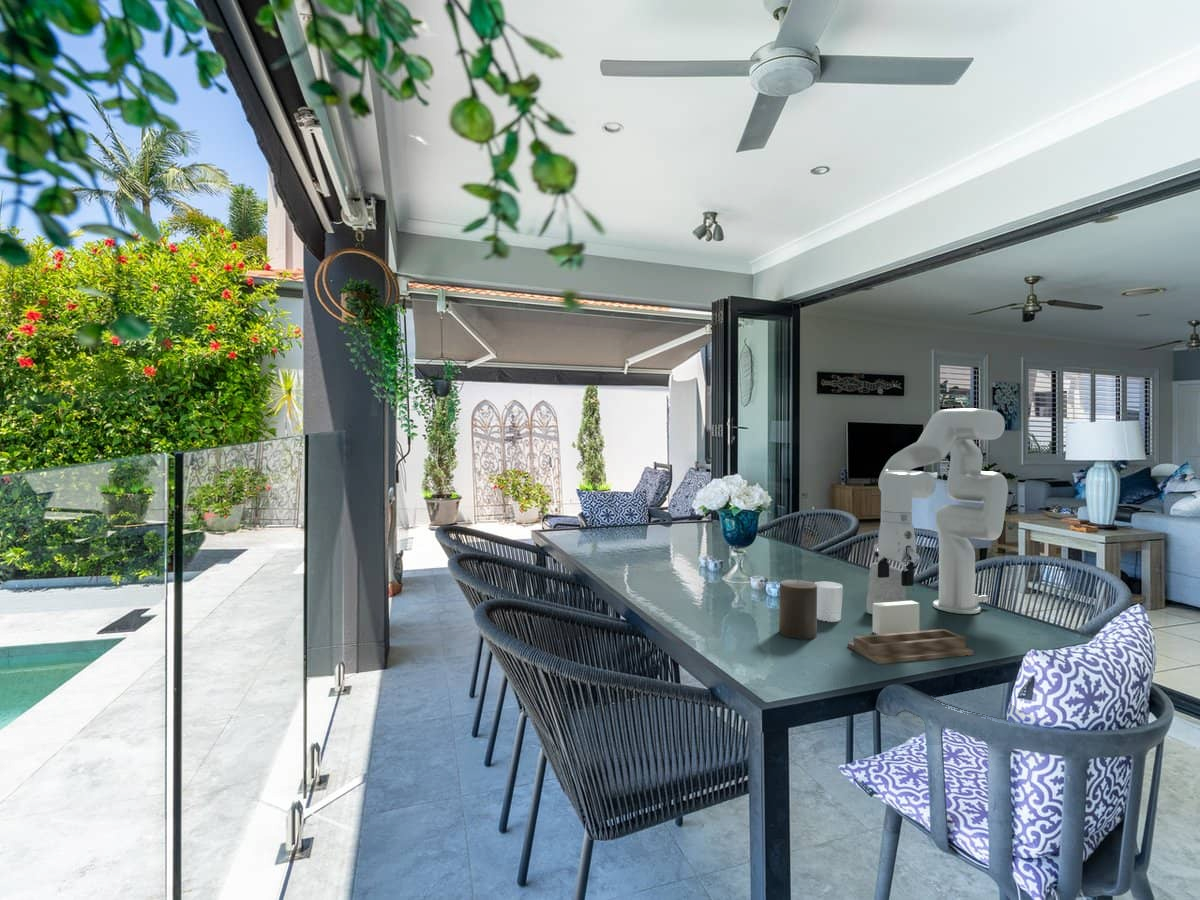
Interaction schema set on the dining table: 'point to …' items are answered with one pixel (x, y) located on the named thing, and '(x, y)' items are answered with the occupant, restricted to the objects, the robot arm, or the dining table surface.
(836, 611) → the white cup
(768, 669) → the dining table surface
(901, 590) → the decorative stone
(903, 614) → the white rectangular block
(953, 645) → the track frame
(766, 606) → the dining table surface
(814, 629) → the pillar candle
